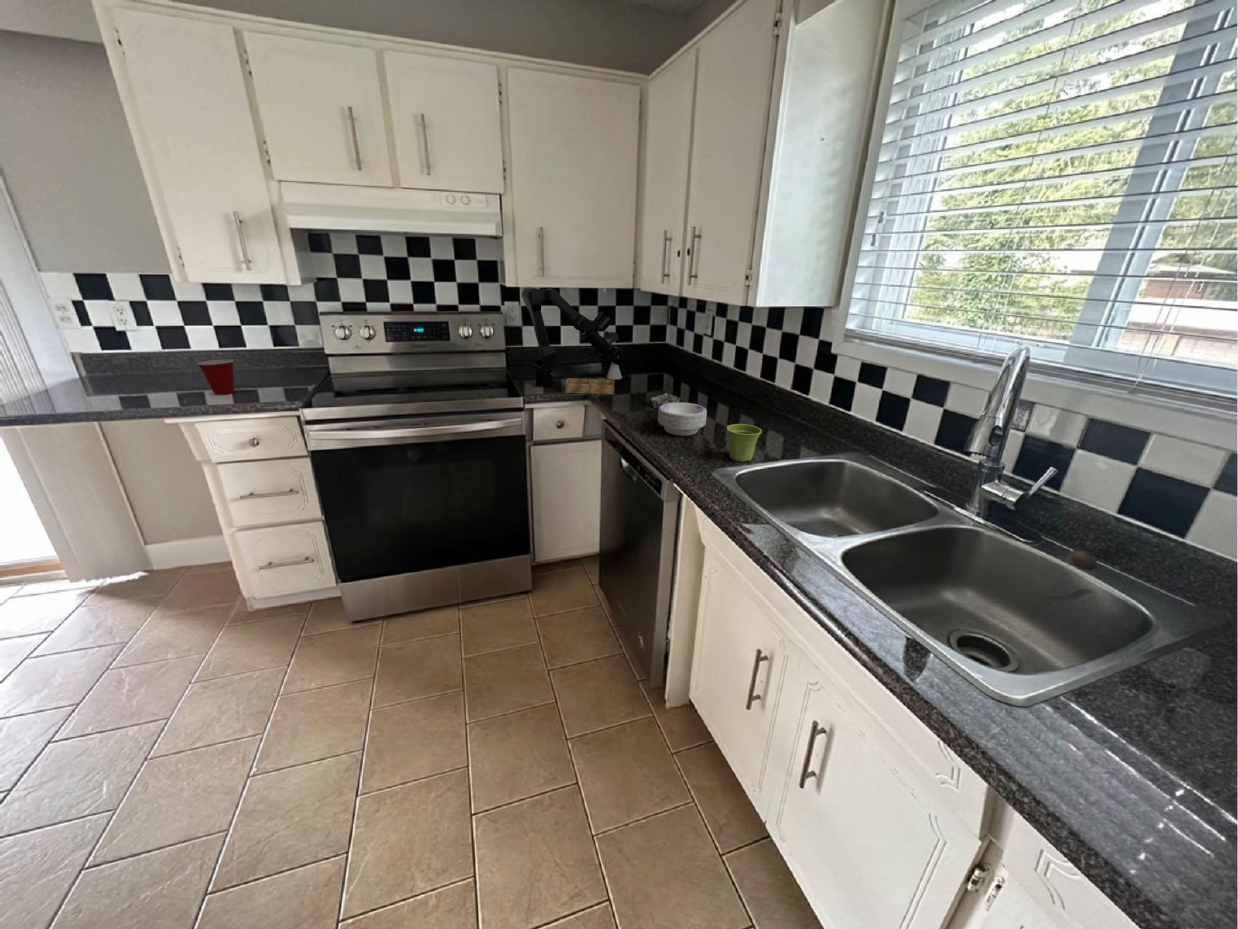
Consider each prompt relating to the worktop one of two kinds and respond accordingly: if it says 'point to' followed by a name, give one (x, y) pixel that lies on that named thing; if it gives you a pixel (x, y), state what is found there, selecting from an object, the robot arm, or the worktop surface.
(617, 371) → the flask
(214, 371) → the plastic cup
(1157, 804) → the worktop surface
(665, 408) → the paper bowls
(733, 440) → the plant pot
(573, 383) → the wooden divided tray
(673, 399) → the egg carton
